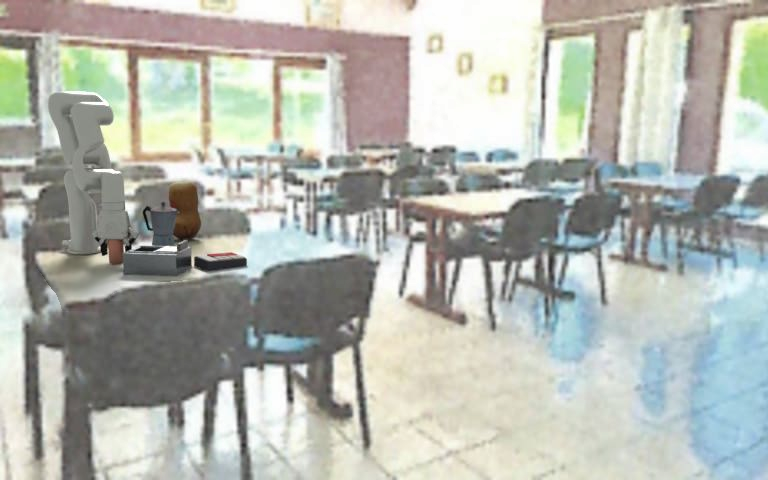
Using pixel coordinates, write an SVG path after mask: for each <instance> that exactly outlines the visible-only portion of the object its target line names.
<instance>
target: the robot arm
mask: <svg viewBox="0 0 768 480" xmlns="http://www.w3.org/2000/svg"><path fill="white" fill-rule="evenodd" d="M47 108H48V113H49V116H50V119H51V121H52V123H53V124H54V127H55V129H56V131H57V135H58V140H59V144H60V148H61V153H62V157H63V160H64V162H65V164H67V165H68V166H71V168H72V169H69V170H68V171H66V172H65V174H64V176H63V183H64V187H65V190H66V197H67V202H68V215H69V216H68V217H69V218H68V219H69V232H70V239H69V240H62V242H61V246H62V247H68V248H67V250H66V253H68V254H69V255H78V254H79V255H93V254H98V253H101V257H105V256H107V255H109V250H108V239H113V240H123V243H125V246H124V252H127V251H129V250H131V249H133V244H134V243H135V241H137V239H138V237H139V236H140V233H139V232H138V231H136V230H135V229H133V228H132V227H131V221H130V215H129V212H128V210H127V209H126V199H125V198H126V196H125V181H124V179H125V178H124V173H123V172H122V171H118V170H115V169H113V168H112V163H111V158H110V155H109V154H110V153H109V149H108V147H107V146H106V144H105V138H104V134H103V131H102V129H101V126H110V125H112V124H113V122H114V118H115V117H114V116H115V114H114V111H113V108H112V107H111V105H110V104H109V103H108V102H107V101H106V100H105V99H103V97H102V96H100V95H99V94H97V93H96V92H89V91H88V92H87V91H67V90H66V91H65V90H64V91H56V92H53V93H52V94H50V95H49V96H48V101H47ZM85 166H93V167H85ZM98 193H99V194H100V193H101V194H100V195H101V202H99V203H98V207H99V208H101V210H100V211H99V215H98V212H97V211H98V210H97V204H96V202H95V201H94V199H93V198H92V197H91V196H90V194H91V195H92V194H98ZM131 236H132V237H131ZM106 242H107V243H106Z"/></svg>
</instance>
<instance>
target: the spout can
mask: <svg viewBox="0 0 768 480" xmlns="http://www.w3.org/2000/svg"><path fill="white" fill-rule="evenodd" d="M107 249H108V262H109V264H110V265H121V264H122V265H123V254H122V253H124V252H125V246H124V240H113V239H107Z"/></svg>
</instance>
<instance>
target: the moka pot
mask: <svg viewBox="0 0 768 480" xmlns="http://www.w3.org/2000/svg"><path fill="white" fill-rule="evenodd" d="M160 205H161V206H157V207H155V206H149V205H145V208H143V210H142V216H143V219H144V221H145V226H146V228H147V231H150V232H153V235H152V240H151V246H176V245H175V236H174V235H173V229H174V226H175V219H176V217H177V214H178V213H179V212H178V211H177V210H176V209H174V208H171V206H170V207H169V206H166V202H165V201H163V202H160ZM147 211H148V212H150V220H151V227H150V224H149V219H148V216H147Z"/></svg>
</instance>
